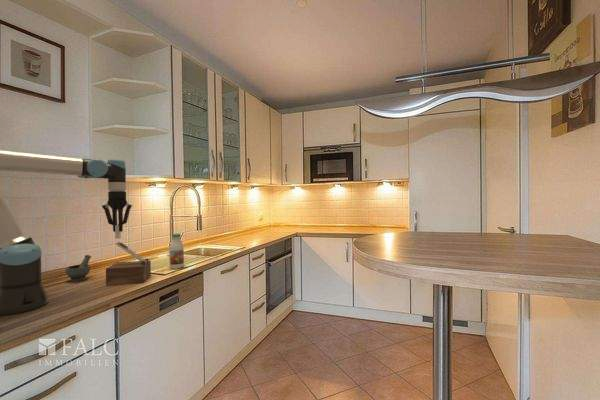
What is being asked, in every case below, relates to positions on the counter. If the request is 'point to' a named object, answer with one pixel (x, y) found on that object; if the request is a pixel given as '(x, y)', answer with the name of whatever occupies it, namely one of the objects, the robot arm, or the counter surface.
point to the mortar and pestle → (79, 270)
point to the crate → (128, 272)
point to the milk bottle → (176, 252)
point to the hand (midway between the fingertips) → (118, 238)
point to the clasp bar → (130, 251)
